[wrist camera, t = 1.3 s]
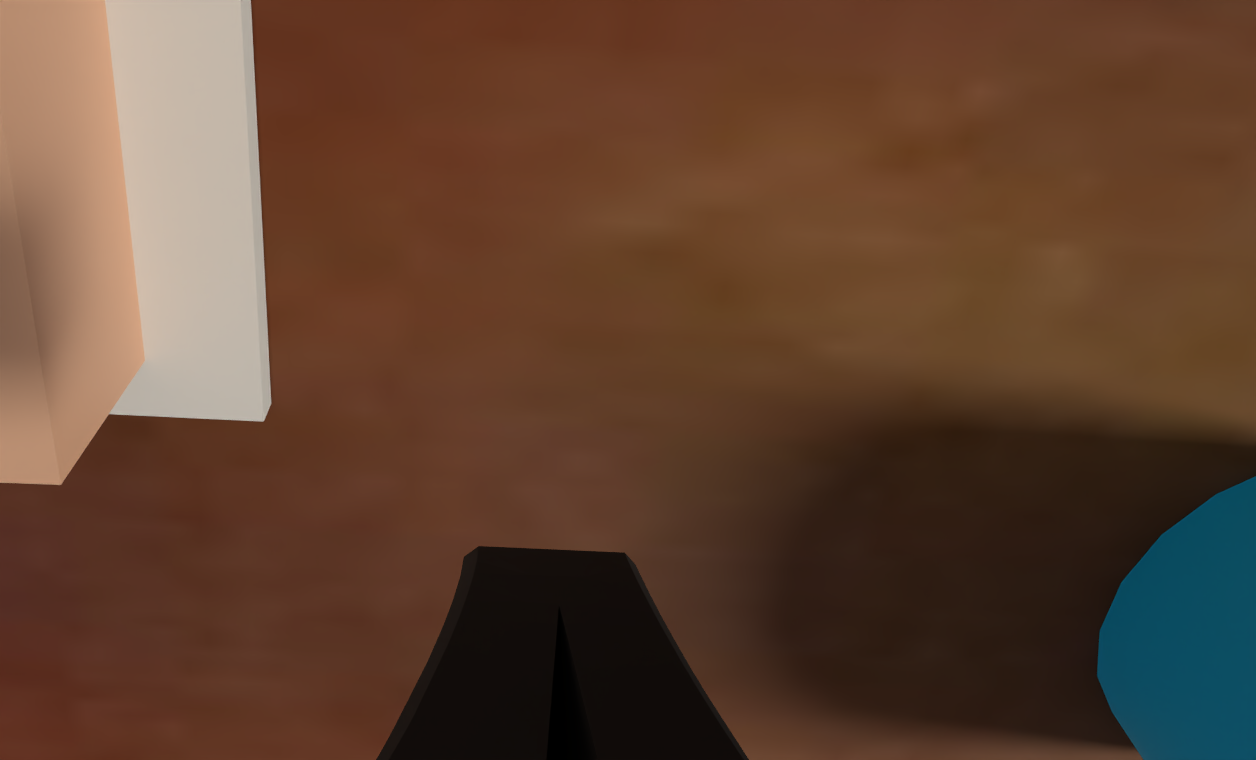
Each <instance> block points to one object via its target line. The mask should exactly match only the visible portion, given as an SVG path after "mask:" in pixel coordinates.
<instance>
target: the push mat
mask: <svg viewBox="0 0 1256 760" xmlns="http://www.w3.org/2000/svg"><path fill="white" fill-rule="evenodd" d="M105 5H106V14H107V23H108V32H109V41H110V50H111V59H112V68H113V77H114V86H115V95H116V104H117V113H118V122H119V131H120V140H121V149H122V158H123V167H124V176H125V185H126V194H127V203H128V212H129V221H130V230H131V239H132V248H133V257H134V266H135V275H136V284H137V293H138V302H139V311H140V320H141V329H142V338H143V347H144V356H145V361H144V363H143V364H142V366H141V367H140V369H139V370H138V372H137V373H136V375H135V376H134V378H133V379H132V381H131V382H130V383H129V385H128V386H127V388H126V389H125V391H124V392H123V394H122V395H121V397H120V398H119V400H118V401H117V403H116V404H115V406H114V407H113V409H112V410H111V412H110V413H109V414H119V415H140V416H161V417H182V418H203V419H224V420H245V421H264V419H265V417H266V415H267V412H268V410H269V408H270V405H271V389H270V370H269V350H268V330H267V311H266V291H265V271H264V252H263V232H262V212H261V193H260V173H259V153H258V134H257V114H256V94H255V74H254V55H253V35H252V15H251V0H105Z"/></svg>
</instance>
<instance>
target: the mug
mask: <svg viewBox="0 0 1256 760" xmlns="http://www.w3.org/2000/svg"><path fill="white" fill-rule="evenodd" d="M1097 677H1098V679H1099V682H1100V684H1101V687H1102V689H1103V691H1104V694H1105V696H1106V699H1107V701H1108V704H1109V706H1110V708H1111V711H1112V713H1113V714H1114V716H1115V717H1116V719H1117V720H1118V722H1119V724H1120V725H1121V727H1122V728H1123V730H1124V731H1125V733H1126V734H1127V736H1128V737H1129V739H1130V740H1131V742H1132V743H1133V745H1134V746H1135V748H1136V749H1137V751H1138V752H1139V754H1140V755H1141V757H1142V758H1143V760H1256V476H1255V477H1253V478H1251V479H1249V480H1246V481H1244V482H1242V483H1240V484H1237V485H1235V486H1233V487H1231V488H1229V489H1226V490H1224V491H1222V492H1220V493H1217V494H1216V495H1214V496H1213V497H1212V498H1210V499H1209V500H1208V501H1206V502H1205V503H1203V504H1202V505H1201V506H1199V507H1198V508H1197V509H1195V510H1194V511H1193V512H1191V513H1190V514H1189V515H1187V516H1186V517H1185V518H1183V519H1182V520H1181V521H1179V522H1178V523H1177V524H1175V525H1174V526H1173V527H1171V528H1170V529H1168V530H1167V531H1166V532H1164V533H1163V534H1162V535H1161V536H1160V537H1159V538H1158V539H1157V541H1156V542H1155V543H1154V544H1153V545H1152V547H1151V548H1150V549H1149V550H1148V551H1147V552H1146V554H1145V555H1144V556H1143V557H1142V558H1141V560H1140V561H1139V562H1138V563H1137V564H1136V566H1135V567H1134V568H1133V569H1132V570H1131V571H1130V573H1129V574H1128V575H1127V576H1126V577H1125V579H1124V580H1123V581H1122V582H1121V584H1120V587H1119V589H1118V591H1117V593H1116V596H1115V598H1114V600H1113V602H1112V604H1111V607H1110V609H1109V611H1108V613H1107V616H1106V618H1105V620H1104V622H1103V625H1102V627H1101V629H1100V634H1099V651H1098V667H1097Z"/></svg>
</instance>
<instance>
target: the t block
mask: <svg viewBox="0 0 1256 760" xmlns="http://www.w3.org/2000/svg"><path fill="white" fill-rule="evenodd" d="M144 361H145V356H144V347H143V338H142V329H141V320H140V311H139V302H138V293H137V284H136V275H135V266H134V257H133V248H132V239H131V230H130V221H129V212H128V203H127V194H126V185H125V176H124V167H123V158H122V149H121V140H120V131H119V122H118V113H117V104H116V95H115V86H114V77H113V68H112V59H111V50H110V41H109V32H108V23H107V14H106V5H105V0H0V483H27V484H54V485H61V484H62V482H63V481H64V479H65V478H66V476H67V475H68V474H69V472H70V471H71V469H72V468H73V466H74V465H75V463H76V462H77V460H78V459H79V457H80V456H81V454H82V453H83V451H84V450H85V448H86V447H87V445H88V444H89V443H90V441H91V440H92V438H93V437H94V435H95V434H96V432H97V431H98V429H99V428H100V426H101V425H102V423H103V422H104V420H105V419H106V417H107V416H108V414H109V413H110V412H111V410H112V409H113V407H114V406H115V404H116V403H117V401H118V400H119V398H120V397H121V395H122V394H123V392H124V391H125V389H126V388H127V386H128V385H129V383H130V382H131V381H132V379H133V378H134V376H135V375H136V373H137V372H138V370H139V369H140V367H141V366H142V364H143V363H144Z"/></svg>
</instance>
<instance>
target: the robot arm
mask: <svg viewBox="0 0 1256 760" xmlns="http://www.w3.org/2000/svg"><path fill="white" fill-rule="evenodd" d="M376 760H749V759H748V758H747V756H746V755H745V753H744V752H743V750H742V748H741V747H740V745H739V744H738V742H737V741H736V739H735V738H734V736H733V735H732V733H731V732H730V730H729V728H728V727H727V725H726V724H725V722H724V721H723V719H722V718H721V716H720V715H719V713H718V711H717V710H716V708H715V707H714V705H713V704H712V702H711V701H710V699H709V698H708V696H707V694H706V693H705V691H704V689H703V688H702V686H701V684H700V683H699V681H698V680H697V678H696V676H695V675H694V673H693V671H692V670H691V668H690V666H689V665H688V663H687V661H686V659H685V658H684V656H683V654H682V652H681V651H680V649H679V647H678V645H677V644H676V642H675V640H674V638H673V637H672V635H671V633H670V631H669V630H668V628H667V626H666V624H665V622H664V620H663V619H662V617H661V615H660V613H659V611H658V609H657V607H656V605H655V603H654V602H653V600H652V598H651V596H650V594H649V592H648V590H647V588H646V586H645V584H644V582H643V580H642V578H641V576H640V573H639V571H638V569H637V567H636V565H635V564H634V563H633V561H632V560H631V559H630V558H629V557H628V556H627V555H626V554H625V553H619V552H596V551H574V550H551V549H529V548H506V547H483V546H478V547H477V548H476V549H474V550H473V551H472V552H470V553H469V554H467V555H466V556H465V557H464V560H463V565H462V571H461V576H460V580H459V583H458V586H457V589H456V593H455V596H454V599H453V602H452V605H451V607H450V610H449V613H448V615H447V618H446V620H445V623H444V625H443V628H442V630H441V632H440V635H439V637H438V639H437V642H436V644H435V646H434V648H433V651H432V653H431V655H430V658H429V660H428V662H427V664H426V666H425V668H424V670H423V672H422V674H421V676H420V678H419V680H418V682H417V684H416V686H415V688H414V690H413V692H412V694H411V696H410V698H409V700H408V702H407V704H406V705H405V707H404V709H403V711H402V713H401V715H400V717H399V719H398V721H397V723H396V725H395V727H394V729H393V731H392V733H391V735H390V736H389V738H388V740H387V742H386V744H385V745H384V747H383V749H382V751H381V752H380V754H379V756H378V758H377V759H376Z"/></svg>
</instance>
